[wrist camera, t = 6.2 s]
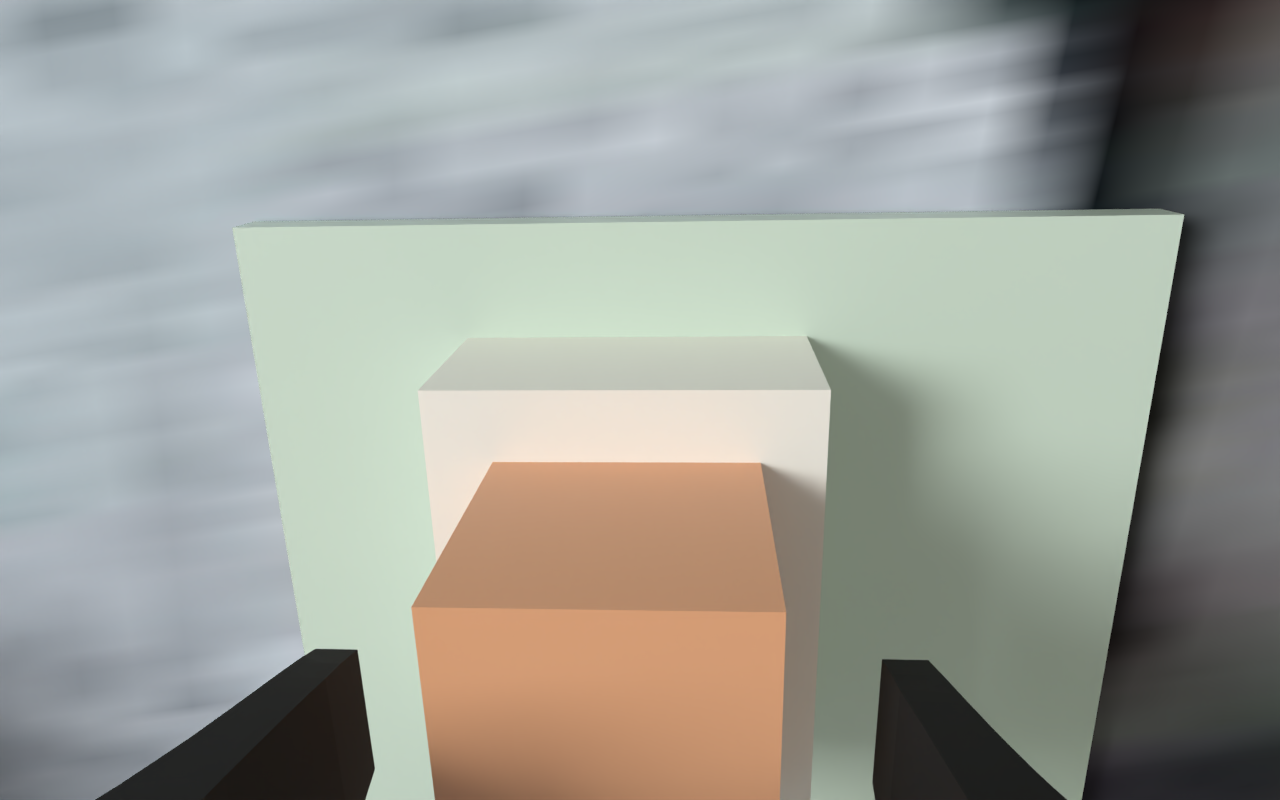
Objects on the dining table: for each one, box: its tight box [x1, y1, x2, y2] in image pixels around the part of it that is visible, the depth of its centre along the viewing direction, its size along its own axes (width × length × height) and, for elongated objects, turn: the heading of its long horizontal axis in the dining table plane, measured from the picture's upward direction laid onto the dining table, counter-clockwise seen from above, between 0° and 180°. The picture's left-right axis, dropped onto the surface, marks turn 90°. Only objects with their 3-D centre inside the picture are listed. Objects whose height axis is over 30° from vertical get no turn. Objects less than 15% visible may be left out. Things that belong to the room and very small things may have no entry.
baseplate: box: [232, 209, 1184, 800], centre depth 19 cm, size 22×16×1 cm
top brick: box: [411, 462, 786, 800], centre depth 12 cm, size 6×4×4 cm, turn 1°
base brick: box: [418, 336, 831, 800], centre depth 16 cm, size 8×6×3 cm
